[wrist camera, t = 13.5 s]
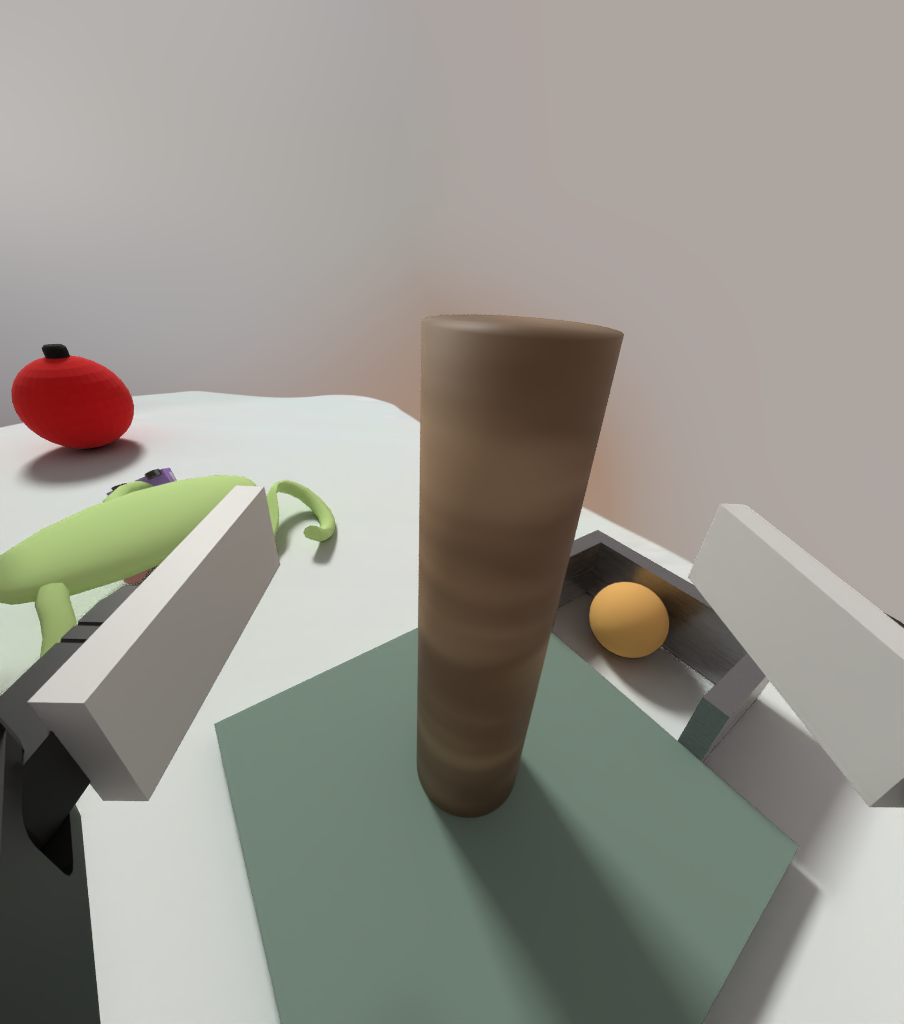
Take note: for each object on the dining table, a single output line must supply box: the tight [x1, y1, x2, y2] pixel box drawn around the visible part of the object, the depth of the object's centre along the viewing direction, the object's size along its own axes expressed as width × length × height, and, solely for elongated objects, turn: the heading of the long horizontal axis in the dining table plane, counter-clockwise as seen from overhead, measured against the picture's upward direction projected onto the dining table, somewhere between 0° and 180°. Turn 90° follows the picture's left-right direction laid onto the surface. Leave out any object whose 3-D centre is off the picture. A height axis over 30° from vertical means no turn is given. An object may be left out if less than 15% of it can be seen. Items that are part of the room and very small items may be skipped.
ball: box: [589, 582, 669, 658], centre depth 22 cm, size 4×4×4 cm
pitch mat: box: [214, 628, 799, 1024], centre depth 16 cm, size 16×16×1 cm
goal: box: [557, 530, 769, 762], centre depth 22 cm, size 6×11×4 cm, turn 35°
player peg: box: [417, 315, 624, 818], centre depth 12 cm, size 4×4×16 cm
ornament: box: [12, 344, 134, 449], centre depth 41 cm, size 9×9×10 cm
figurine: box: [0, 468, 335, 658], centre depth 24 cm, size 18×27×6 cm
